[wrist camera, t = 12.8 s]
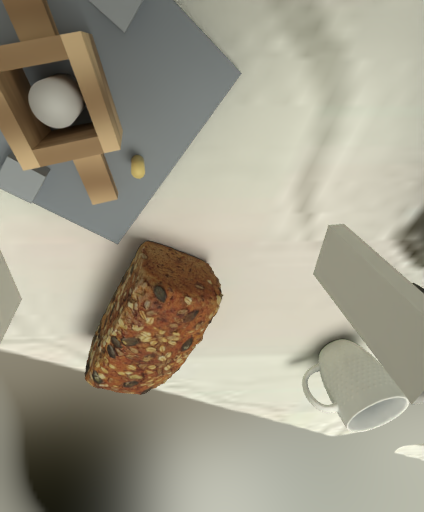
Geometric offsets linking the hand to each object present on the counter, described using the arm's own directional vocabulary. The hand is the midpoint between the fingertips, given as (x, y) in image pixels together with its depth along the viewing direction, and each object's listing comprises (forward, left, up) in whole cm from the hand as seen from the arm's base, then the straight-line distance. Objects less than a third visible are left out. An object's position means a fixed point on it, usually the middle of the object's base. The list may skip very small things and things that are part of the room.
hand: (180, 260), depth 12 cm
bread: (+18, +11, -21) cm, 30 cm away
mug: (+13, +50, -20) cm, 55 cm away
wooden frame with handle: (+1, -8, -19) cm, 21 cm away
